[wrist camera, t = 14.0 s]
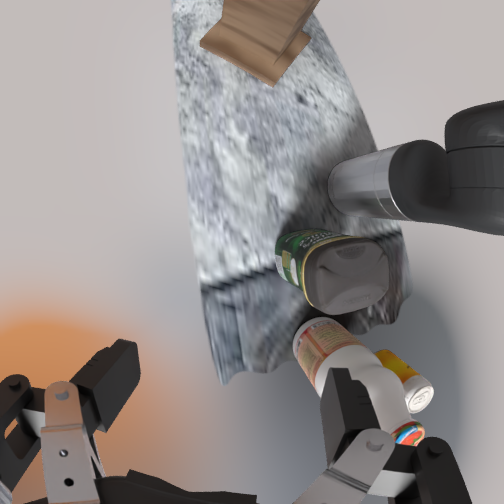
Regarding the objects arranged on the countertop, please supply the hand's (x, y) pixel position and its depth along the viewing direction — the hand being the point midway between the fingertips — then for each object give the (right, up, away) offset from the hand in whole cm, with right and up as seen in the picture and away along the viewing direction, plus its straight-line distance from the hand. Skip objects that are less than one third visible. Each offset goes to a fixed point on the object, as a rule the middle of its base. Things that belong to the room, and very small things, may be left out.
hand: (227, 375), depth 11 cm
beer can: (+26, -16, +41) cm, 51 cm away
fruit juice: (+12, -10, +38) cm, 41 cm away
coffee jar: (+9, +5, +36) cm, 37 cm away
